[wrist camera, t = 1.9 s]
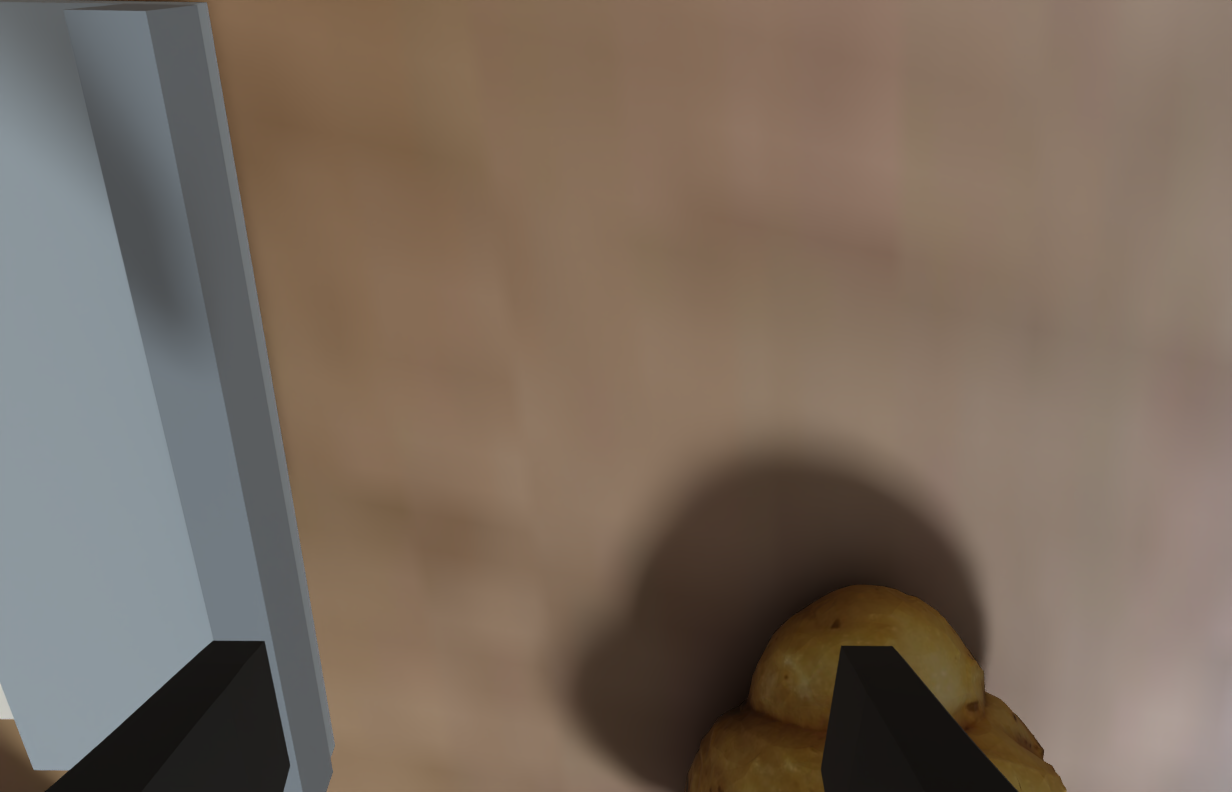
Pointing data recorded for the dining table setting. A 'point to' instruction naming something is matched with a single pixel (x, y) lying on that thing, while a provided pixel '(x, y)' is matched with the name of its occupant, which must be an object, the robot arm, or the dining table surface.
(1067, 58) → the dining table surface
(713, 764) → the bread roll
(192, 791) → the robot arm
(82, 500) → the flap
